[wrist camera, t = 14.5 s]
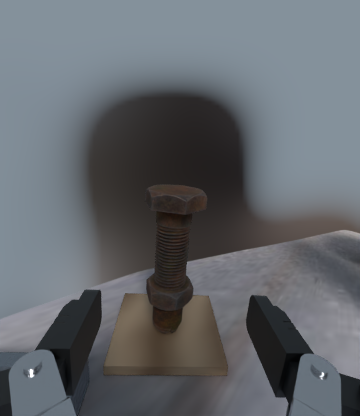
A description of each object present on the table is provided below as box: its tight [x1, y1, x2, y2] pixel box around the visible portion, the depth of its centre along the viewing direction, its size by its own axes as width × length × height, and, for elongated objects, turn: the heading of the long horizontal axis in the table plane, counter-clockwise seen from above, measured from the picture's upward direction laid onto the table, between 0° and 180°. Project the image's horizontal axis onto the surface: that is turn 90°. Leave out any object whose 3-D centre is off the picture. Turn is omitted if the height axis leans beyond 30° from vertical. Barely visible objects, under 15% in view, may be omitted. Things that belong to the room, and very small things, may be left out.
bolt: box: [145, 185, 207, 334], centre depth 22 cm, size 6×5×15 cm
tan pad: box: [103, 293, 228, 376], centre depth 25 cm, size 11×10×1 cm
